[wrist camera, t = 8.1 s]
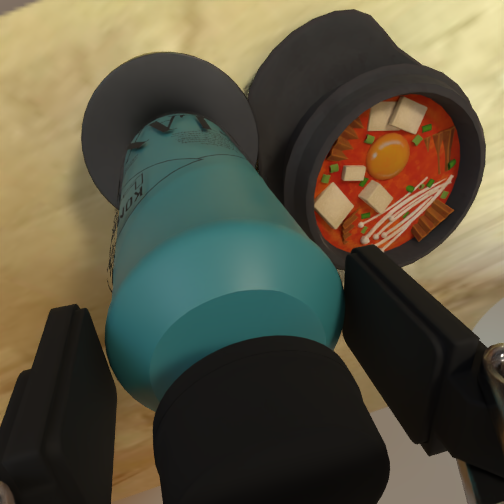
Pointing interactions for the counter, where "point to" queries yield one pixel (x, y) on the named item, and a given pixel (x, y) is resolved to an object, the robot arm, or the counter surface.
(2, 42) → the counter surface
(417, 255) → the casserole
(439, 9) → the counter surface
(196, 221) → the beverage bottle
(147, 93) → the gold round tin
